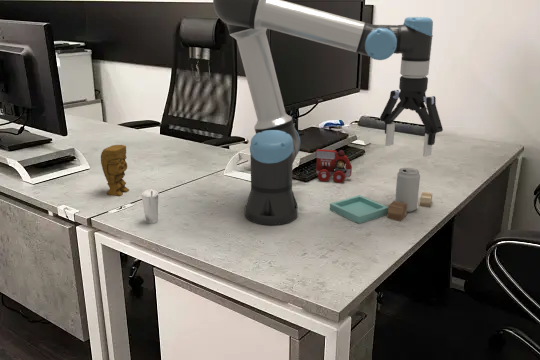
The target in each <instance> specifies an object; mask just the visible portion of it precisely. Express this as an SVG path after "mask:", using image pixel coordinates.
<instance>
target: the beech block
mask: <svg viewBox="0 0 540 360" xmlns="http://www.w3.org/2000/svg"><path fill="white" fill-rule="evenodd" d="M432 201H433V192H426V191H421V195H420V197H419V207H423V208H424V207H426V208H430V207H431V206H432V205H431V204H432Z"/></svg>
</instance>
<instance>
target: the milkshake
mask: <svg viewBox="0 0 540 360" xmlns="http://www.w3.org/2000/svg"><path fill="white" fill-rule="evenodd" d="M141 199H142V205H143V211H144V216H145V218H144V219H145V221H146V223H147V224H155V223H157V222H158V221H159V192H158V191H157V190H156V189H152V188H149V189H145V190H143V191H142V192H141Z"/></svg>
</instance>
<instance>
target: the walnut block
mask: <svg viewBox="0 0 540 360" xmlns="http://www.w3.org/2000/svg"><path fill="white" fill-rule="evenodd" d="M387 207H388V214H387V215H386V217H387V219H390V220H392V221H397V222H402V221H403V220H404V219H405V218H406V217H407V213H408V212H407V204H405V203H401V202H396V201H395V200H393V201H392V202H390V203H389V204H388V206H387Z"/></svg>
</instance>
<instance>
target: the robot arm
mask: <svg viewBox="0 0 540 360" xmlns="http://www.w3.org/2000/svg"><path fill="white" fill-rule="evenodd" d="M212 5H213V10H214V12H215V14H216V15H217V17H218V18H219V19H220V20H221V21H222V22H223V23H226V25H227V30H228V33H229V36H231V37H232V38H233V39H235V40H236V43H237V47H238V51H239V54H240V58H241V62H242V66H243V70H244V74H245V77H246V81H247V84H248V89H249V92H250V97H251V100H252V105H253V107H254V112H255V117H256V119H257V121H256V123H255V125H254V132H255V134H254V135H253V136H252V137H251V140H250V145H249V152H250V153H249V154H250V191H249V195H248V198H247V200H246V201H247V202H246V204H245V207H244V216H245V218H247V220H249V221H251V222H253V223H255V224H260V225H264V226H265V225H266V226H277V225H284V224H287V223H290V222H293V221H294V220H296V219H297V218H298V217H299V215H298V214H299V207H298V203H297V200H296V198H295V194H294V191H293V165H294V163H295V160H296V157H297V156H298V155H299V152H300V148H301V138H300V135H299V133H298V131H297V130H296V127H295V125H294V121H293V117H292V116H291V115H290V114H289V115H288V114H287V112H286V109H285V106H284V105H285V104H284V101H283V97H282V93H281V89H280V86H279V81H278V76H277V73H276V69H275V64H274V61H273V60H274V59H273V57H272V52H271V47H270V44H269V40H268V36H267V30H271V31H275V32H279V33H283V34H287V35H290V36H293V37H298V38H301V39H306V40H309V41H312V42H316V43H320V44H323V45H328V46H331V47H334V48H339V49H342V50H346V51H350V52H354V53H357V54H360V55H363V56H367V57H369V58H371V59H373V60H376V61H384V60H388V59H390V57H392V55H393V54H395V55H396V54H401V61H400V69H399V70H400V72H399V73H400V75H401V76H400V77H399V84H398V88H399V89H395V90H391V91H390V94H389V98H388V101H387V102H386V105H385V106H384V109H383V111H382V112H381V114H380V116H379V119H380V121H383V122H384V123H385V124H384V134H385V147H391V146H393V145H394V141H395V127H396V123H395V120H396V118H398V117H399V115H400V114H401V113H402V112H403V111H404V110H409V111H412V112H413V111H415V113H416V114H417V115H418V117H419V119H420V120H421V122H422V125H423V127H424V128H425V130H426V133H424V141H423V151H422V157H424V158H426V157H429V156H432V149H433V145H435V142H436V134H438V133H441V132H443V130H444V129H443V124H442V122H441V121H442V120H441V119H440V115H439V112H438V108H437V105H436V104H437V103H436V101H437V99H436V96H435V95H434V96H433V95H432V96H427V95H426V92H427V90H428V83H429V78H428V75H429V71H430V62H431V61H430V60H431V54H432V53H431V51H432V43H433V36H434V35H433V29H434V27H433V26H434V22H433V21H434V20H433V19H432V18H430V17H428V16H427V17H424V16H423V17H422V16H420V17H419V16H414V17H413V16H409V17H405V18H404V22H403V24H398V25H397V24H393V25H392V24H374V23H372V24H371V23H368V22H365V21H360V20H357V19H354V18H350V17H349V18H348V17H345V16H342V15H338V14H334V13H331V12H326V11H323V10H319V9H316V8H312V7H308V6H305V5H302V4H298V3H294V2H291V1H286V0H212ZM398 100H399V102H398ZM397 102H398V103H397Z"/></svg>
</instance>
